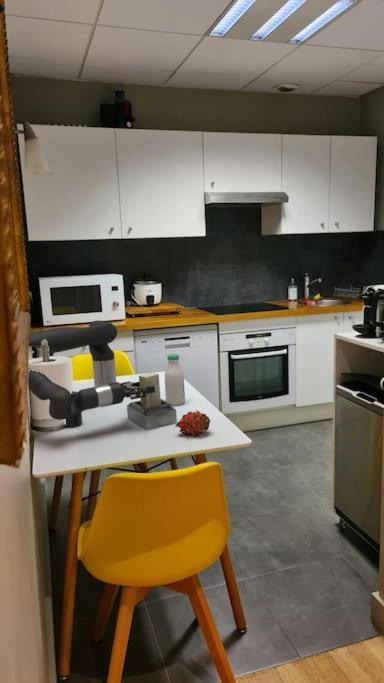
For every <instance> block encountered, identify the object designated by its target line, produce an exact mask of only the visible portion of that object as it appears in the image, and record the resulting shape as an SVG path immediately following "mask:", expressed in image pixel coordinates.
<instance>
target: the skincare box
mask: <svg viewBox="0 0 384 683" xmlns="http://www.w3.org/2000/svg"><path fill="white" fill-rule="evenodd" d="M138 382H139V384H140V388H146V387H151V386H154V387H155V392H154V393H149V394H147V397H142V398H140V400H141V407H143V408H145V409H147V408H151V407H156V406H160V405H161V399H162V398H161V386H160V374H159V373H156V372H147V373H144V374H141V375H138ZM141 393H142V392H141Z"/></svg>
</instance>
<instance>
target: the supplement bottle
mask: <svg viewBox="0 0 384 683" xmlns="http://www.w3.org/2000/svg"><path fill="white" fill-rule="evenodd" d="M71 391H72V393H71V395H72V399H73V398H74V397H75V396H76V394H77V392H78V391H74V390H71ZM82 424H83V411H82V412H81V413H79V414H76V415H74V416H72V417H70V418H67V419H66V426H67V427H66V428H76V427H79V426H82Z"/></svg>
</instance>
